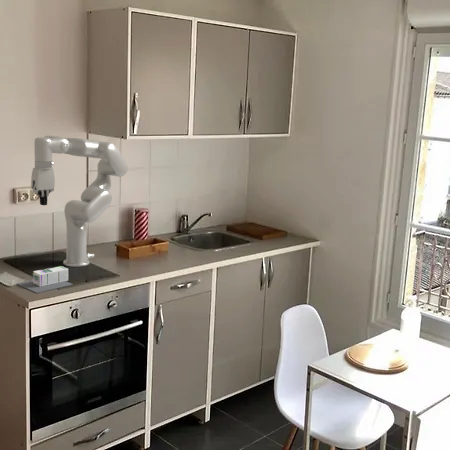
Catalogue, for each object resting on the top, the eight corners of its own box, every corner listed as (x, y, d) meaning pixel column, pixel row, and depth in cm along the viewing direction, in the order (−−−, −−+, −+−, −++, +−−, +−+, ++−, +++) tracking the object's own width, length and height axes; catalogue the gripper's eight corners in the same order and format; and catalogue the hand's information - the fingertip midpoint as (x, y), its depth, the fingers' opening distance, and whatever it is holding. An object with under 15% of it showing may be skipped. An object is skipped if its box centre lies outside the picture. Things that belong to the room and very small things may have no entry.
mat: (52, 276, 284) (52, 275, 284) (72, 285, 274) (72, 284, 274) (16, 284, 271) (16, 283, 271) (36, 293, 261) (36, 292, 261)
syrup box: (68, 268, 277) (39, 273, 267) (68, 281, 278) (39, 287, 268) (61, 265, 281) (32, 270, 270) (61, 278, 282) (32, 283, 271)
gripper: (51, 163, 289) (52, 201, 292) (24, 164, 277) (24, 205, 281) (62, 164, 284) (62, 204, 288) (34, 166, 273) (34, 207, 276)
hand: (43, 204), depth 284 cm, fingers closed
